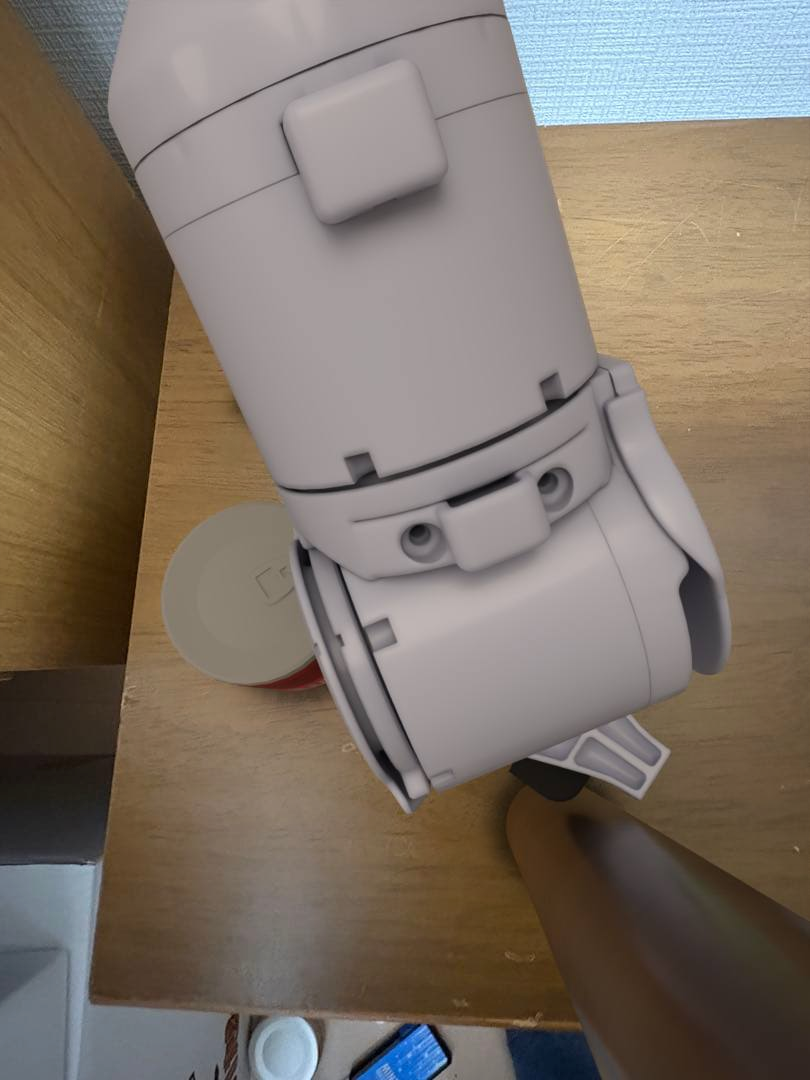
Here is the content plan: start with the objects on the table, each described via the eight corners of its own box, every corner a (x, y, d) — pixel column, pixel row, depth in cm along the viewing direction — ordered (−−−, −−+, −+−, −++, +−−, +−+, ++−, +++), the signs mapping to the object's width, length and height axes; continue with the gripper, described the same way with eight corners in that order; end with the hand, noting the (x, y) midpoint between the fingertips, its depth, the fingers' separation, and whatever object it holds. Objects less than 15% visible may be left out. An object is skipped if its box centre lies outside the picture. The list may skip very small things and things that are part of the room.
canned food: (403, 608, 43) (384, 574, 32) (306, 723, 42) (255, 727, 31) (299, 522, 44) (249, 462, 34) (204, 631, 43) (121, 605, 33)
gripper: (211, 610, 24) (298, 647, 37) (618, 912, 22) (557, 836, 35) (346, 430, 25) (384, 527, 38) (751, 698, 23) (642, 703, 36)
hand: (472, 666), depth 37 cm, fingers open, 6 cm apart
